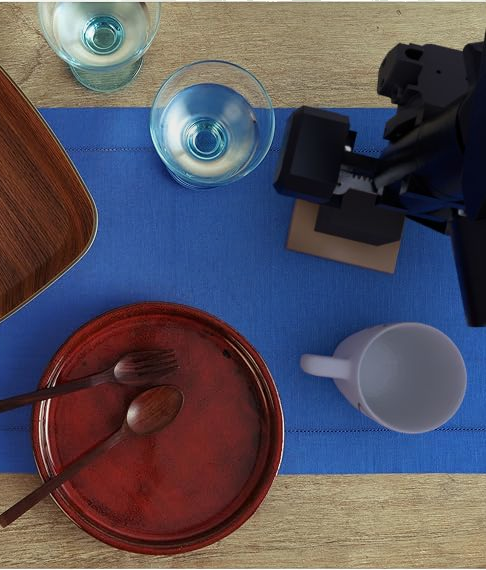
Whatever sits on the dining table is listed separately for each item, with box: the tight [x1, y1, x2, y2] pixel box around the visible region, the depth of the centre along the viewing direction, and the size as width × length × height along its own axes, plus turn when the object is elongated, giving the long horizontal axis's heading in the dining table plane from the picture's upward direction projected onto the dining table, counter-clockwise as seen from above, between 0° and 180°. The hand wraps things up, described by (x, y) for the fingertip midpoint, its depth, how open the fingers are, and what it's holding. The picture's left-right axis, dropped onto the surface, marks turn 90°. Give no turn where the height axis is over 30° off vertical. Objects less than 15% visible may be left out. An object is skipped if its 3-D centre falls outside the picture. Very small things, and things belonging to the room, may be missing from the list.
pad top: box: [321, 174, 406, 244], centre depth 52 cm, size 6×6×2 cm
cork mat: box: [283, 198, 407, 275], centre depth 57 cm, size 10×10×1 cm
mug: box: [299, 321, 468, 435], centre depth 51 cm, size 11×8×10 cm
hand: (365, 200), depth 53 cm, fingers open, 6 cm apart
